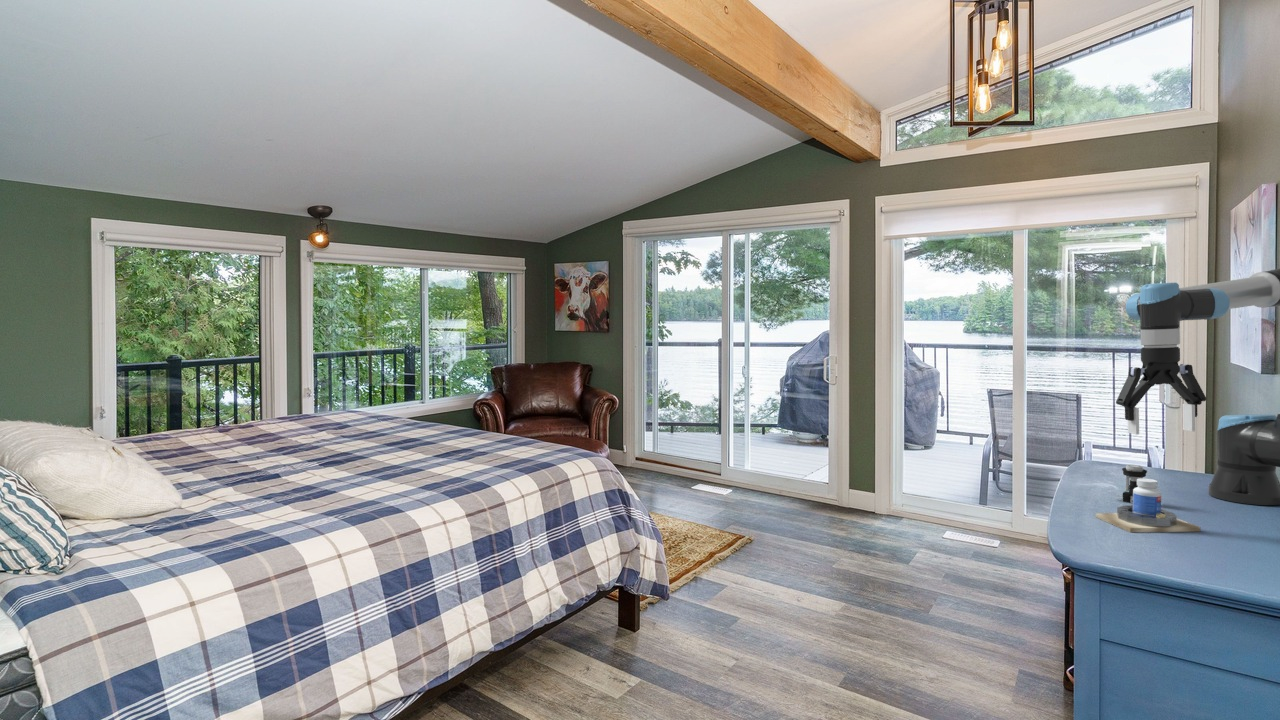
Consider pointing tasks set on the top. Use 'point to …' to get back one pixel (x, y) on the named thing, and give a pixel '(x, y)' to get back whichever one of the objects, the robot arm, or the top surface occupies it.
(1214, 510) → the top surface
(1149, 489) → the pill bottle
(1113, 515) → the board
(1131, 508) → the ring
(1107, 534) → the top surface
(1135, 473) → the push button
